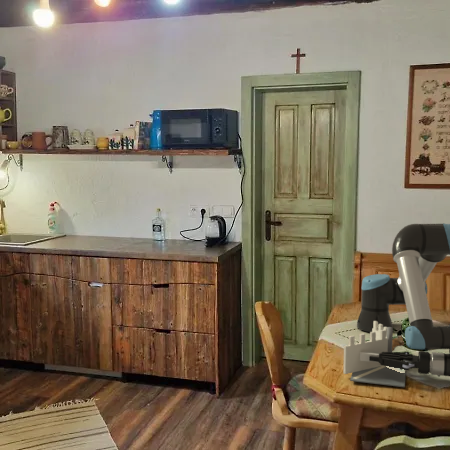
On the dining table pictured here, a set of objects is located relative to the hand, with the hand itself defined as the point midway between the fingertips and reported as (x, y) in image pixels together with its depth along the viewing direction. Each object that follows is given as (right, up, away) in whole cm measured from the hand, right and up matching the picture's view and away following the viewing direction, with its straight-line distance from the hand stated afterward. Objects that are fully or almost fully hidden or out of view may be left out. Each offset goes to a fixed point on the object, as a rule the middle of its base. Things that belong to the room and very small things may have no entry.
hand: (360, 356), depth 201 cm
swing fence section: (+3, -5, +3) cm, 7 cm away
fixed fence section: (+12, -5, +15) cm, 19 cm away
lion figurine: (+15, -1, +28) cm, 32 cm away
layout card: (+9, -6, +7) cm, 13 cm away
